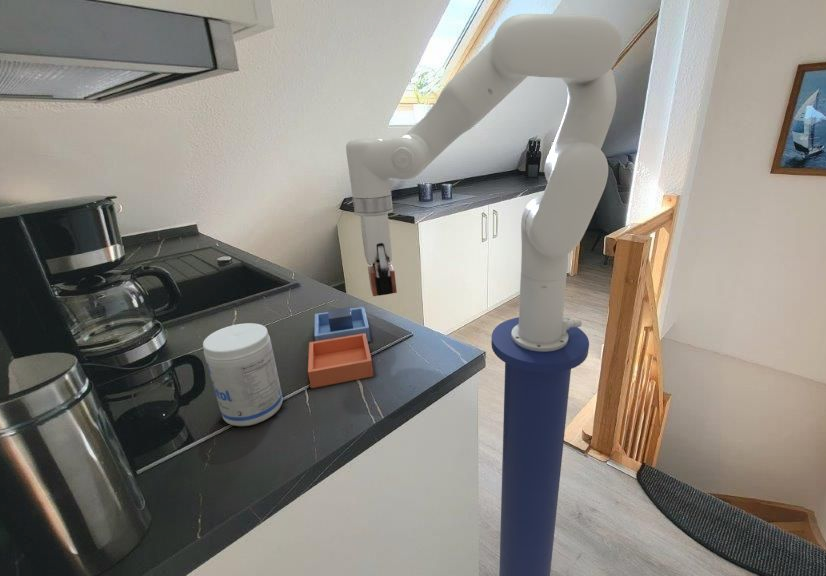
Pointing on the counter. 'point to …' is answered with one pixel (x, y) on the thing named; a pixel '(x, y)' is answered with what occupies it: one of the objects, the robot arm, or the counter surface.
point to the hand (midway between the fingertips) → (383, 288)
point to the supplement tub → (243, 373)
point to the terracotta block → (373, 282)
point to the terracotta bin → (339, 360)
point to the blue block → (340, 319)
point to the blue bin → (324, 330)
